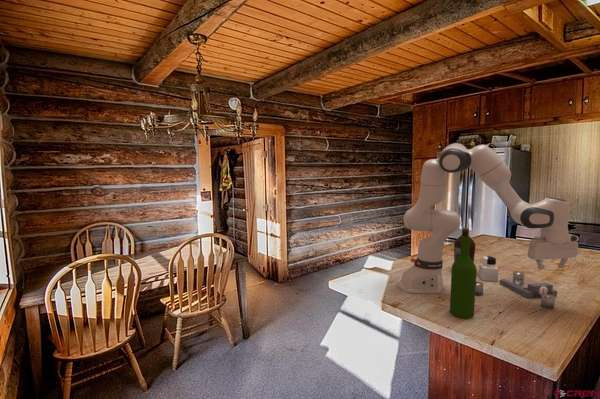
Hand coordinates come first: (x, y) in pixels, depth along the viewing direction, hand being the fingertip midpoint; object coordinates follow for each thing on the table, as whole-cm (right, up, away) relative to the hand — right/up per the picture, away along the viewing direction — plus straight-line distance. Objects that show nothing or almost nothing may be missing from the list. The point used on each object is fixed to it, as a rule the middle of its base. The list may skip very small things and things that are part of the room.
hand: (551, 268), depth 134 cm
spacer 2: (0, -11, +21) cm, 23 cm away
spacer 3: (0, -17, +2) cm, 17 cm away
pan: (+4, -12, +21) cm, 25 cm away
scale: (+4, -15, +20) cm, 25 cm away
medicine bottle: (-6, -13, +35) cm, 38 cm away
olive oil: (-14, -12, +46) cm, 49 cm away
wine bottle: (-39, -18, -3) cm, 43 cm away
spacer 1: (-22, -15, +16) cm, 31 cm away
